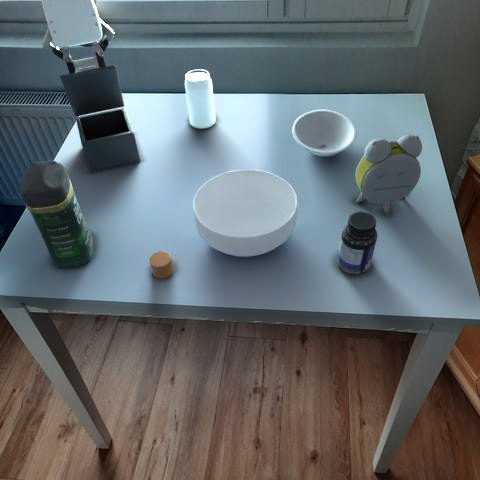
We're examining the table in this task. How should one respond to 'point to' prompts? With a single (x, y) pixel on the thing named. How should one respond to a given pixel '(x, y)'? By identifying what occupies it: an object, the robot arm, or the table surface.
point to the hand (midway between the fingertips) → (89, 74)
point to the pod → (161, 264)
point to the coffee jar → (57, 213)
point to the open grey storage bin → (107, 139)
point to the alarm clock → (389, 170)
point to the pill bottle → (357, 243)
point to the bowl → (245, 212)
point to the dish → (324, 132)
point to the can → (200, 99)
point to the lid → (92, 87)
